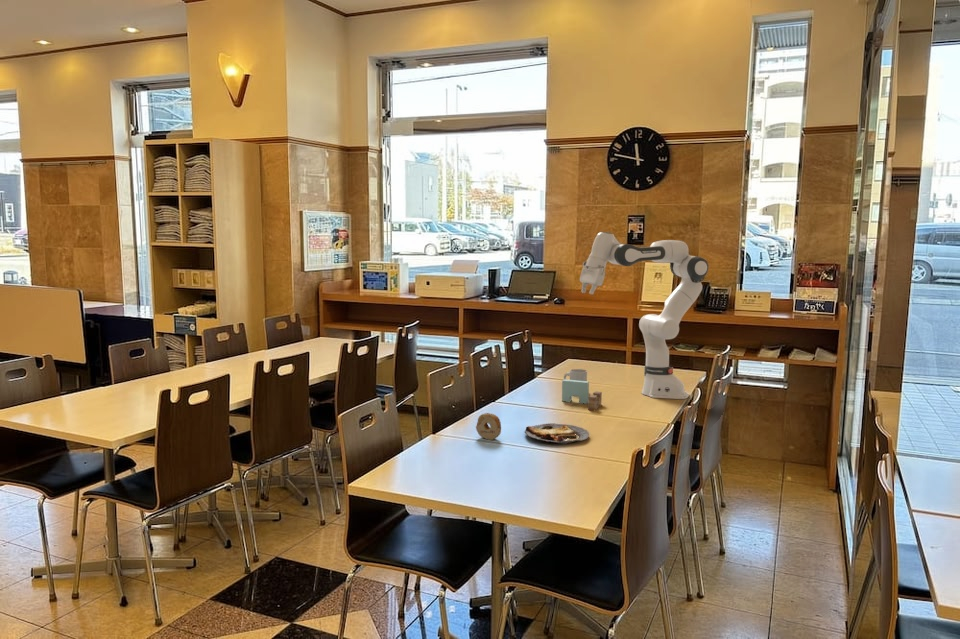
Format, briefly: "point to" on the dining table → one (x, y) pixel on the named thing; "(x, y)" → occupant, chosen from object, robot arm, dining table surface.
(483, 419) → the stone disc
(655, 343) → the robot arm
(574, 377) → the mug
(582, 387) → the teal notched block
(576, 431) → the food plate
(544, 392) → the dining table surface
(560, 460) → the dining table surface
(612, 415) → the dining table surface
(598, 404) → the brown notched block
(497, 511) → the dining table surface
